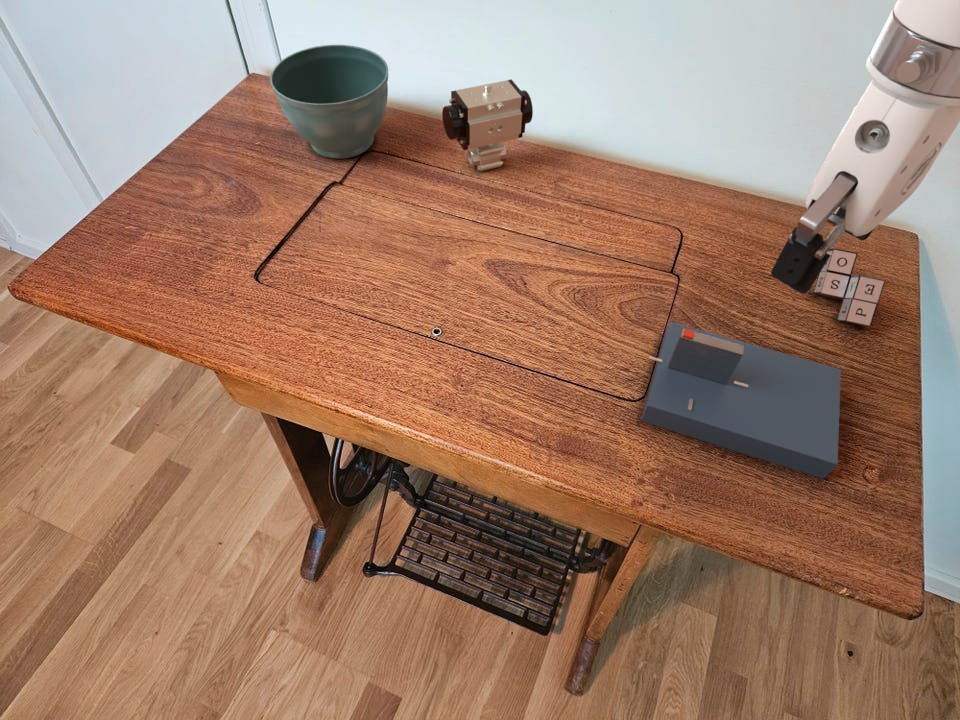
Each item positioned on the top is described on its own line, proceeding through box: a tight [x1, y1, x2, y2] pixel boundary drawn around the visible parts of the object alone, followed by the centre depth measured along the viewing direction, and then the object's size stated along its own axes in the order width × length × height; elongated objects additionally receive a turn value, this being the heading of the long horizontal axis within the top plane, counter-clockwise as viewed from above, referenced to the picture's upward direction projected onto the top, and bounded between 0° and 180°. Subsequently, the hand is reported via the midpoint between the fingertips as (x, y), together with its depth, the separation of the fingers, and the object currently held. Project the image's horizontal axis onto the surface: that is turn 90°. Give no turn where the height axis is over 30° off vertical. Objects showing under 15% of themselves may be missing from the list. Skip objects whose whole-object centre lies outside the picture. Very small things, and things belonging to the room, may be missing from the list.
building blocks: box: [812, 247, 886, 327], centre depth 72 cm, size 5×5×8 cm
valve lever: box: [668, 329, 744, 385], centre depth 62 cm, size 6×1×5 cm, turn 69°
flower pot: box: [269, 44, 389, 160], centre depth 90 cm, size 16×16×11 cm
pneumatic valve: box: [441, 79, 534, 172], centre depth 86 cm, size 6×12×12 cm, turn 112°
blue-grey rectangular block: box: [640, 321, 842, 480], centre depth 64 cm, size 19×12×3 cm, turn 69°
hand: (819, 256), depth 52 cm, fingers open, 9 cm apart
